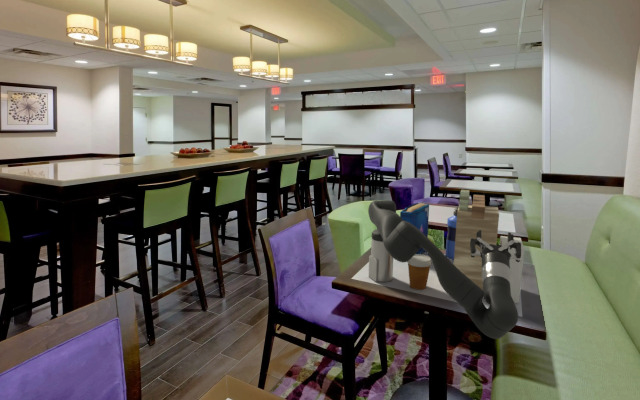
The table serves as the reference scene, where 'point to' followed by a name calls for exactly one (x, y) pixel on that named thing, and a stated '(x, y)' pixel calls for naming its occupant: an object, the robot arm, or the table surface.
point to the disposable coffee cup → (419, 271)
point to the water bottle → (451, 235)
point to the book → (417, 218)
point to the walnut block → (478, 206)
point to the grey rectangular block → (515, 269)
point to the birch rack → (468, 230)
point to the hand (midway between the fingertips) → (494, 233)
